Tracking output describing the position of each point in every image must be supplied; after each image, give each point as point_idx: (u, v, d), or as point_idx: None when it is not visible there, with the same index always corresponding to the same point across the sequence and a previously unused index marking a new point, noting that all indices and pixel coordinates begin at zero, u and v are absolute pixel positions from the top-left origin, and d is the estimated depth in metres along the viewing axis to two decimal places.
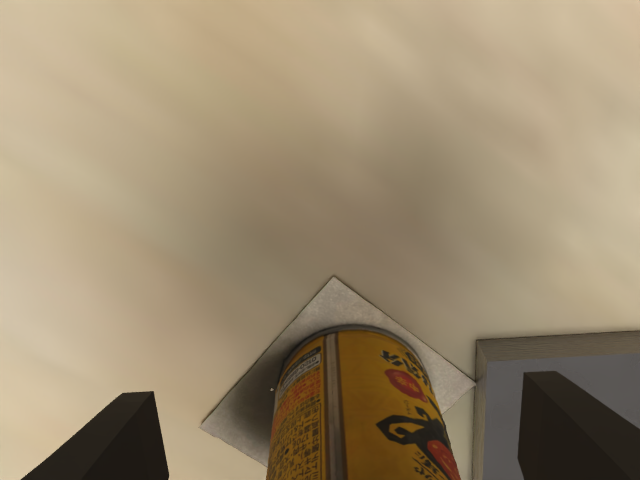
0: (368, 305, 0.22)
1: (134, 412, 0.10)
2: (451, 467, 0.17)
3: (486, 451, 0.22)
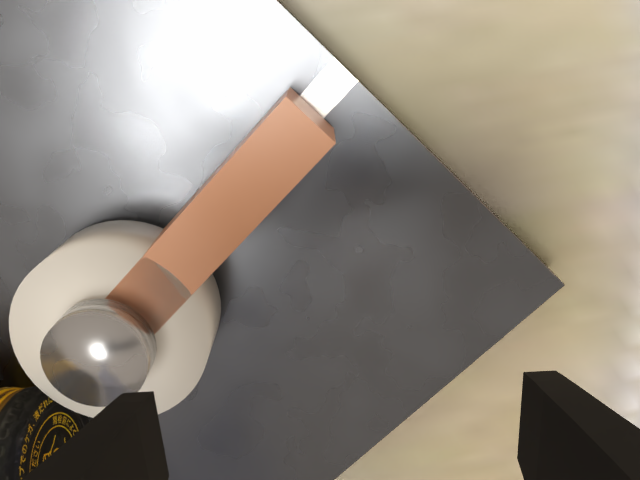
0: None
1: (134, 412, 0.10)
2: None
3: None
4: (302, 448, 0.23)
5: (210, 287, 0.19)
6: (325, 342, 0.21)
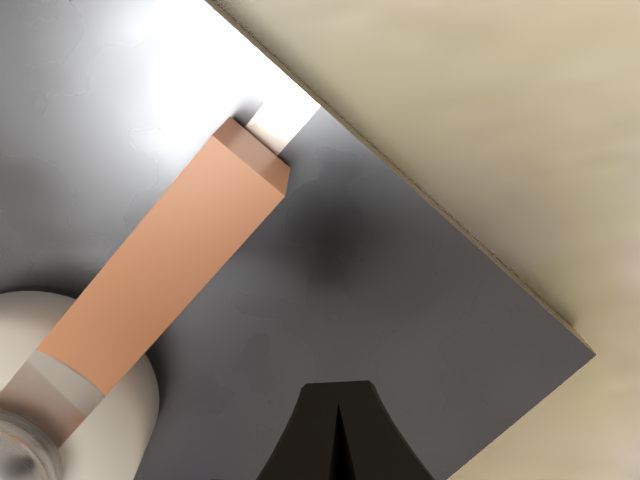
0: None
1: (337, 402, 0.10)
2: None
3: None
4: None
5: (139, 375, 0.15)
6: None
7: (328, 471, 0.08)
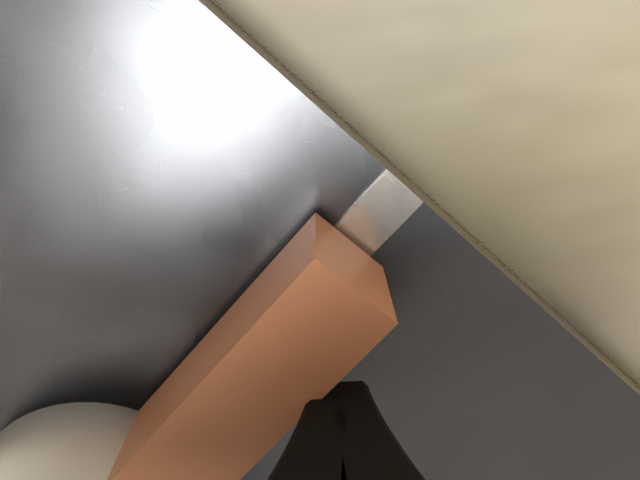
0: None
1: (346, 401, 0.10)
2: None
3: None
4: None
5: None
6: None
7: (340, 470, 0.08)
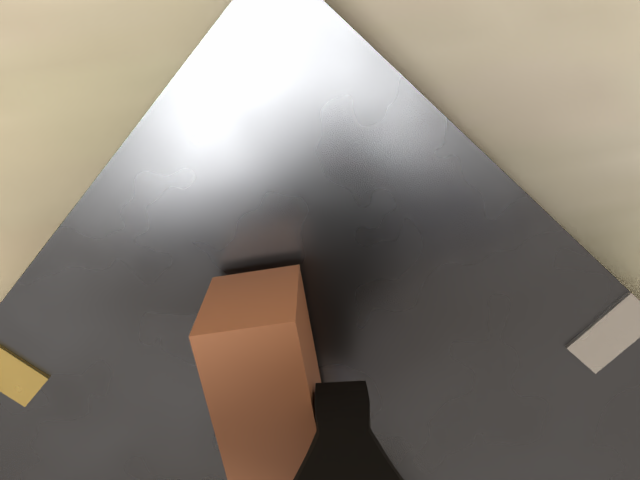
0: None
1: (368, 400, 0.10)
2: None
3: None
4: None
5: None
6: None
7: (367, 469, 0.08)
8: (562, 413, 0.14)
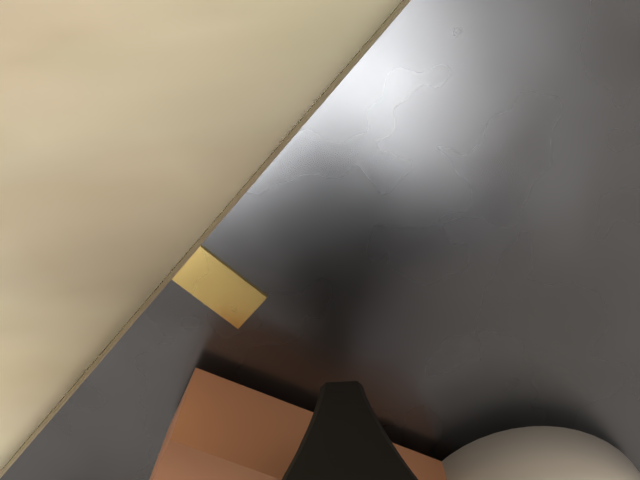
0: None
1: (358, 401, 0.10)
2: None
3: None
4: None
5: (468, 471, 0.13)
6: None
7: (354, 470, 0.08)
8: None
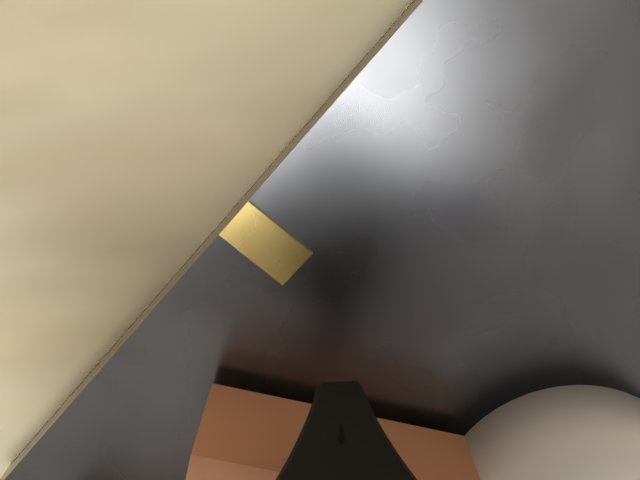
0: None
1: (353, 401, 0.10)
2: None
3: None
4: None
5: (489, 442, 0.13)
6: None
7: (348, 470, 0.08)
8: None
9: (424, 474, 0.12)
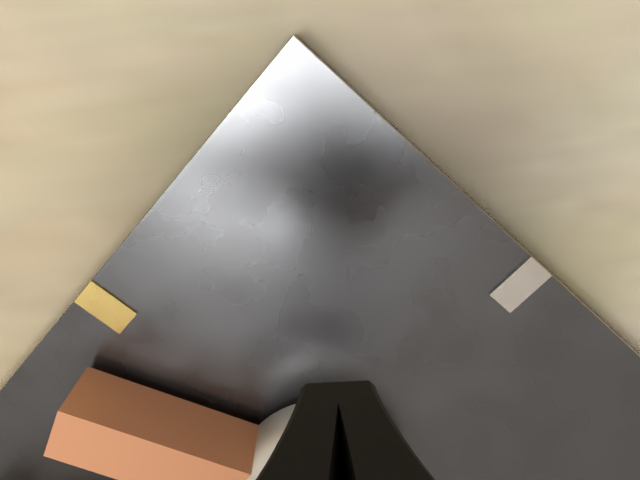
0: None
1: (336, 402, 0.10)
2: None
3: None
4: None
5: (267, 430, 0.20)
6: None
7: (328, 471, 0.08)
8: (489, 341, 0.20)
9: (215, 445, 0.19)
